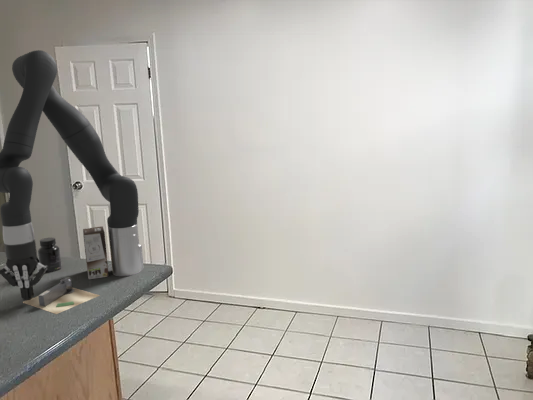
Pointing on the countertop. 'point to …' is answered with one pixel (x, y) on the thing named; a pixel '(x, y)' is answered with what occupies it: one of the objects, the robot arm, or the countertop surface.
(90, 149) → the robot arm
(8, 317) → the countertop surface
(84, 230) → the coffee box
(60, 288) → the tuning lever
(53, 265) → the supplement bottle
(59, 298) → the board
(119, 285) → the countertop surface
